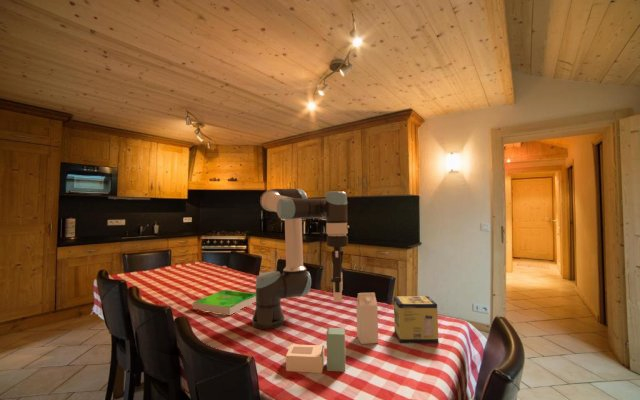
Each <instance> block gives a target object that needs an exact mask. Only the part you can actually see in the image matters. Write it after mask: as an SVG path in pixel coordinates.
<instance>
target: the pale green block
mask: <svg viewBox="0 0 640 400" xmlns="http://www.w3.org/2000/svg"><path fill="white" fill-rule="evenodd" d="M326 371H327V372H328V371H330V372H346V328H344V327H327V331H326Z"/></svg>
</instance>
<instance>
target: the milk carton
mask: <svg viewBox="0 0 640 400" xmlns="http://www.w3.org/2000/svg"><path fill="white" fill-rule="evenodd" d="M355 303H356V337H357V339H358V340H359V343H360V344H361V345H364V344H366V345H367V344H378V343H379V323H378V322H379V317H378V316H379V315H378V314H379V313H378V311H379V310H378V302H377V298H376V293H375V292H359V293H357V298H356V302H355Z"/></svg>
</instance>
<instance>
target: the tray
mask: <svg viewBox="0 0 640 400" xmlns="http://www.w3.org/2000/svg"><path fill="white" fill-rule="evenodd" d="M254 302H256V292H255V293H254V292H246V291H236V290H228V289H224V290H220V291H218V292H215V293H212V294H211V295H207V296H206V297H203V298H200V299H197V300H195V301H193V302H192V310H193V309H199V310H204V311H210V312H215V313H221V314H227V315H231V314H233V313H235V312H237V311H239V310H240V309H242V308H244V307H246V306H248V305H250V304H252V303H254ZM254 304H255V303H254ZM252 305H253V304H252ZM239 312H240V311H239ZM237 313H238V312H237ZM235 314H236V313H235ZM233 315H234V314H233Z"/></svg>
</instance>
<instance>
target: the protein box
mask: <svg viewBox="0 0 640 400" xmlns="http://www.w3.org/2000/svg"><path fill="white" fill-rule="evenodd" d="M393 314H394V315H393V318H394V319H393V320H394V321H393V322H394V325H393V326H394V334H395V335H396V337H397V339H398V341H399V343H400V344H438V343H439V318H438V316H439V315H438V304H437V303H436V302H435V301H434V300H433V299H432V298H431V297H430V296H429V295H420V296H419V295H417V296H416V295H413V296H411V295H410V296H409V295H407V296H405V295H404V296H402V295H400V296H397V295H394V296H393Z"/></svg>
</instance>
